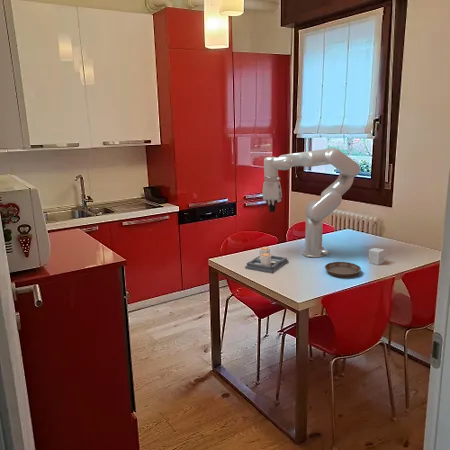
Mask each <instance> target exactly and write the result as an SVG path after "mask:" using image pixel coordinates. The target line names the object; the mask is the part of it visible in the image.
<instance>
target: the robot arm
mask: <svg viewBox="0 0 450 450" xmlns="http://www.w3.org/2000/svg"><path fill="white" fill-rule="evenodd" d="M326 165H327V166H328V165H332V166H333V167H334V168H335V169H337V170H338V171H339V174H338V176H337V178H336V179H335V180H334V182H332V183H331V184H329V186H328V187H326V188H325V189H324V190H322V191H321V194H320V199H319V200H316V199H314V200H309V201H308V202H307V203H306V204H305V207H304V216H305V218H304V219H305V231H304V232H305V236H304V238H305V241H304V243H305V244H304V246H305V248H304V249H305V250H303V251H302V256H304V257H307V258H313V259H314V258H316V259H317V258H323V257H324V256H325V254H326V255H329V254H330V253H329V249H325V248H324V246H323V229H324V228H323V223H324V221H323V220H324V219H325V218H327V217H328V216H330V214H332V213H333V212H334V211H335V210H336V209H337V208H338V207H339V206H340V205H341V203H342V201H343V199H342V196H343V195H344V194H345V193H346V192H347V191H349V190H350V188H351V187H352V186H353V183H354V179H355V177H356V176H358V175H359V174H360V171H361V169H360V165H359V164H358V162H356V161H355V160H353V159H352V158H350V157H349V156H348V155H346V154H345V153H344V152H343V151H341V149H337V148H332V147H331V148H323V149H316V150H310V151H309V150H308V151H302V152H294V153H287V154H281V155H279V156H278V157H276V156H266V157H264V159H263V172H264V182H263V184H262V185H263V186H262V201H263V202H265V203H267V205H268V209H269V213H274V212H276V204H277V203H280V202H282V197H283V194H282V186H281V182H280V180H281V177H279V171H288V170H290V169H291V168H293V167H306V168H309V167H311V168H313V167H318V166H326Z"/></svg>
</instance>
